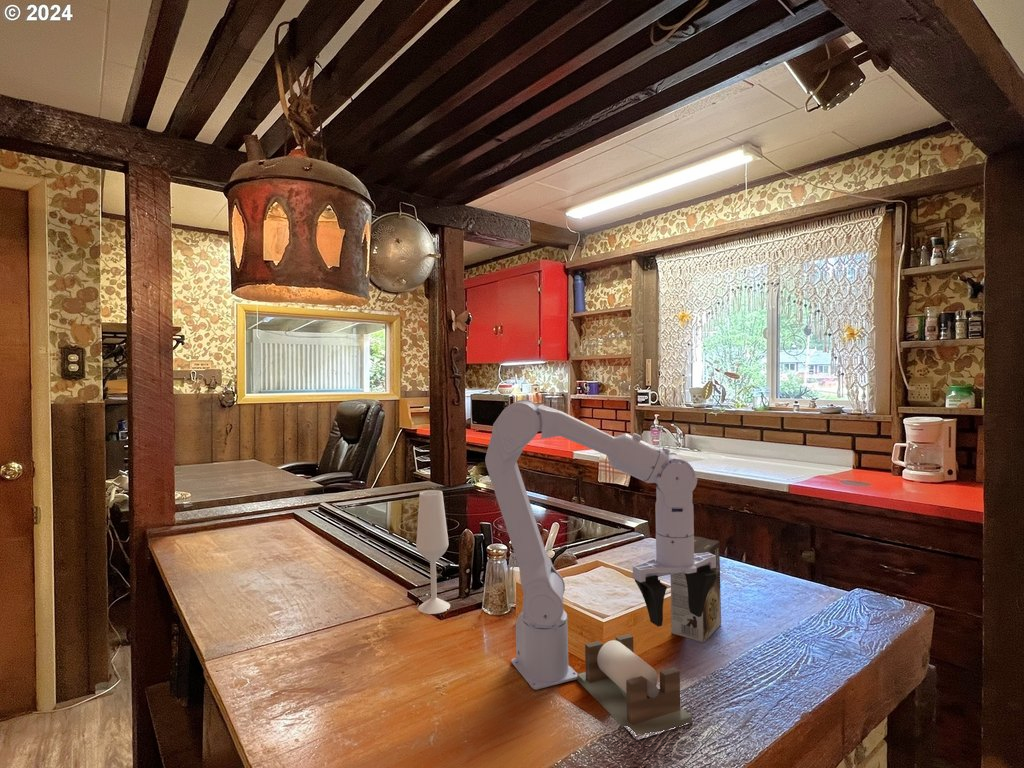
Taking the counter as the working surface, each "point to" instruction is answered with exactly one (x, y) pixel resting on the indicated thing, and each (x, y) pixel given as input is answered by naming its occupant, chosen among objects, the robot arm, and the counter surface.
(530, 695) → the counter surface
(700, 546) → the coffee box
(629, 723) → the roll holder
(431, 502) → the champagne flute
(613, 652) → the paper roll
